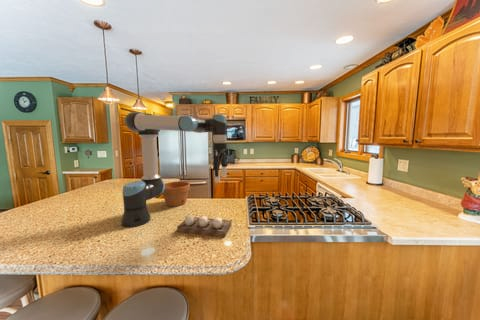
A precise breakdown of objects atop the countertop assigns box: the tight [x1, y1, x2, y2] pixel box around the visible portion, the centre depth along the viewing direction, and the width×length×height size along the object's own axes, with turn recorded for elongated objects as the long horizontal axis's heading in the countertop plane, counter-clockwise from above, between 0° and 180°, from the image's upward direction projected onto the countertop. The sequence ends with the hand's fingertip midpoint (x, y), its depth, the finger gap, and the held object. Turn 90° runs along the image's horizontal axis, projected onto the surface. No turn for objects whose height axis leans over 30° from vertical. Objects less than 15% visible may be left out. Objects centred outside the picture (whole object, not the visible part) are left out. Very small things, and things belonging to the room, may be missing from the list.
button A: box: [184, 214, 195, 226], centre depth 102 cm, size 4×4×4 cm
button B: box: [198, 215, 208, 227], centre depth 100 cm, size 4×4×4 cm
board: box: [176, 216, 232, 238], centre depth 103 cm, size 26×13×3 cm, turn 78°
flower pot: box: [162, 181, 191, 207], centre depth 144 cm, size 21×21×15 cm
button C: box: [212, 216, 223, 228], centre depth 99 cm, size 4×4×4 cm
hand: (220, 179), depth 109 cm, fingers open, 13 cm apart
